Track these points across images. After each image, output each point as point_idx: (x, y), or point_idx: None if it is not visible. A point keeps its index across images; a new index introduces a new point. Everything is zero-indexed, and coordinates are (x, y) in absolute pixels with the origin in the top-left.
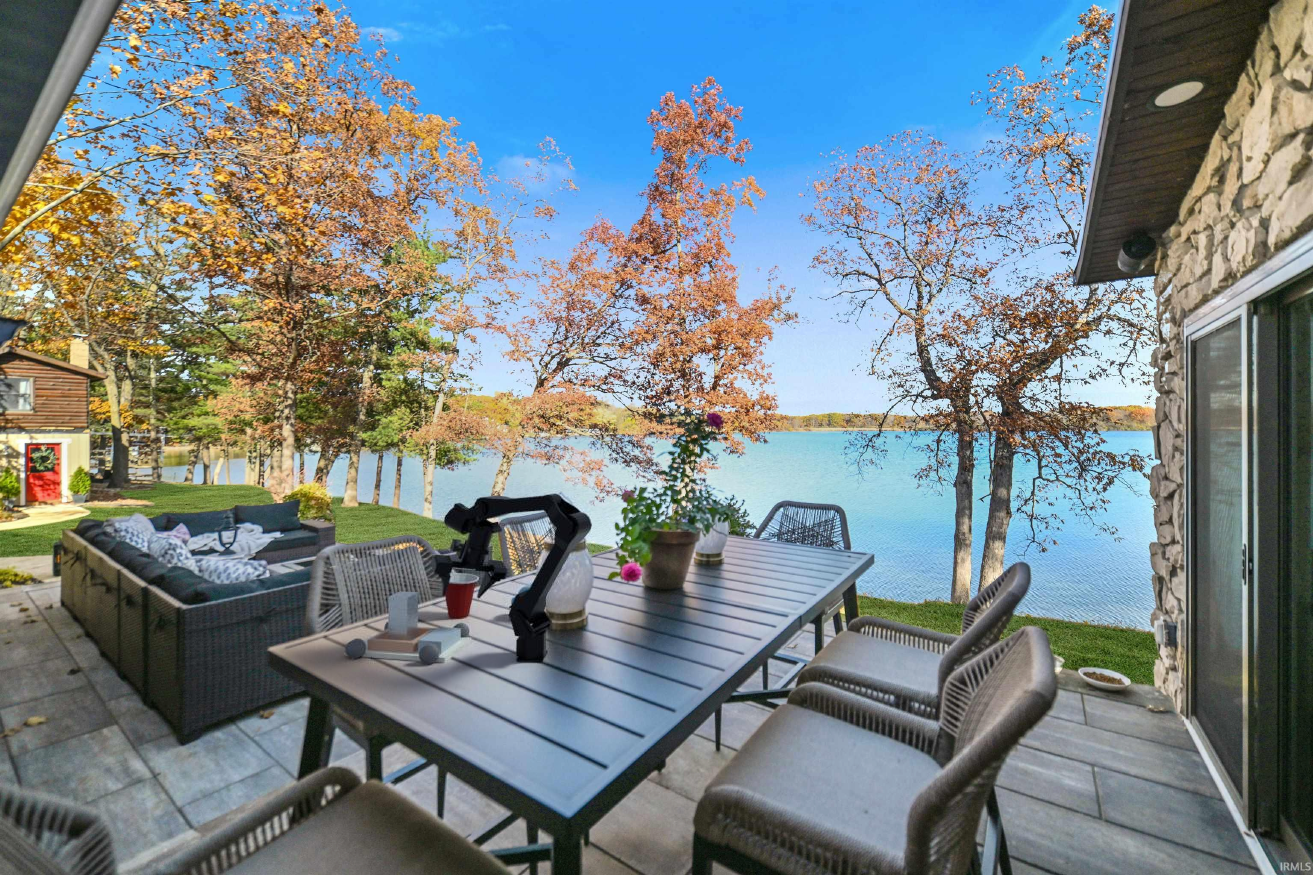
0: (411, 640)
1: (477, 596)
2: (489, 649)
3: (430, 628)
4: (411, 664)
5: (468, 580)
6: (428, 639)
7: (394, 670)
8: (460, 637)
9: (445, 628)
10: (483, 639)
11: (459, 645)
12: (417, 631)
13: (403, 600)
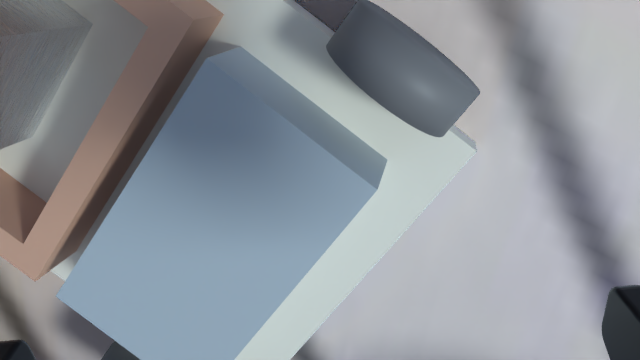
0: (41, 94)
1: (613, 307)
2: (549, 338)
3: (146, 8)
4: (90, 324)
5: None
6: (119, 317)
7: None
8: (384, 166)
9: (254, 130)
10: (584, 123)
11: (357, 266)
12: (50, 28)
13: None
